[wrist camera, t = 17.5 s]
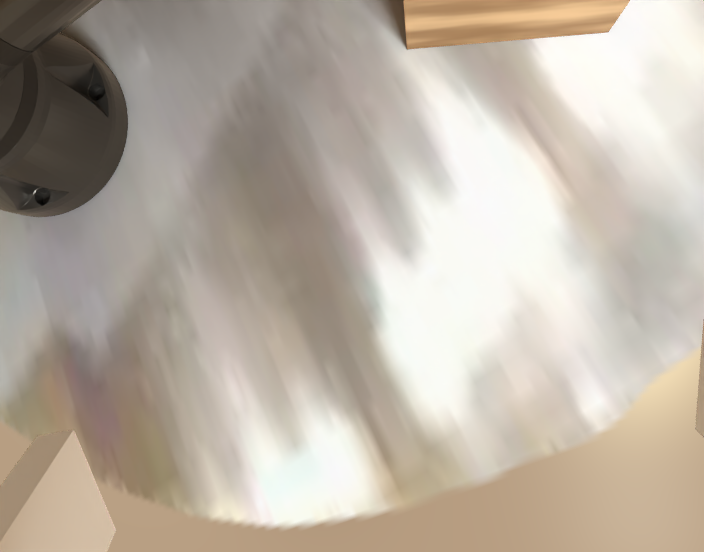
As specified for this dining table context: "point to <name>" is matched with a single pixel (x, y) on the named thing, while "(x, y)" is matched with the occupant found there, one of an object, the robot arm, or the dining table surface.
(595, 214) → the dining table surface
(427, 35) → the tall wooden crate
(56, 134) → the robot arm
